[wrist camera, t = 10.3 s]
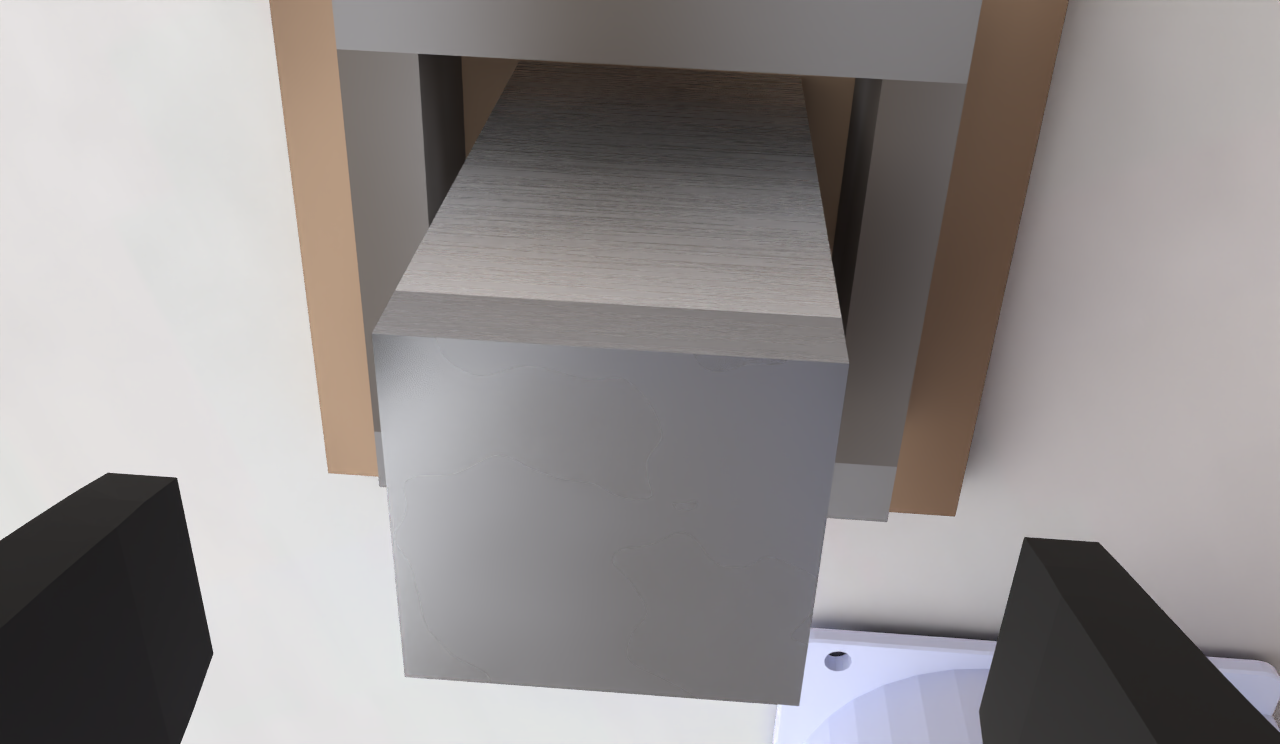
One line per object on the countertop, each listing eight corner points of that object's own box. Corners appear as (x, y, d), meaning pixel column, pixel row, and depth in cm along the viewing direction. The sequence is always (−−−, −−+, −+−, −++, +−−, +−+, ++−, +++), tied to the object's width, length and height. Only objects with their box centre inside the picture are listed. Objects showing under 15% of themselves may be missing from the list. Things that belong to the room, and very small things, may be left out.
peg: (800, 75, 17) (849, 363, 10) (774, 324, 19) (799, 705, 12) (519, 61, 17) (371, 333, 10) (523, 308, 19) (405, 677, 12)
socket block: (1088, -191, 15) (1174, -157, 12) (946, 482, 21) (981, 616, 18) (268, -228, 16) (159, -204, 13) (344, 440, 22) (282, 565, 19)
